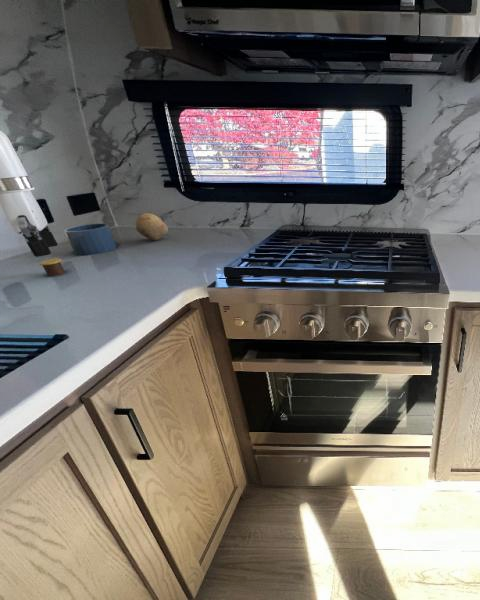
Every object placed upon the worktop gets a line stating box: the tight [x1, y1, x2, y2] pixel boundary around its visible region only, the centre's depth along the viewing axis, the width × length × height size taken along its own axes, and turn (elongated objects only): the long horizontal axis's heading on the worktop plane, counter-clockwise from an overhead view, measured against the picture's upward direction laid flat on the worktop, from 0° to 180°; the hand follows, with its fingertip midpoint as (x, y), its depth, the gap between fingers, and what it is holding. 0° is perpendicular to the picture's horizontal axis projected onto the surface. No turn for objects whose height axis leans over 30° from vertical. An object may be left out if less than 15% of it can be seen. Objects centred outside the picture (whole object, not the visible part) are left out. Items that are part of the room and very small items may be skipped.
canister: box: [63, 222, 118, 257], centre depth 112 cm, size 11×11×8 cm
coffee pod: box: [38, 258, 66, 277], centre depth 92 cm, size 4×4×4 cm
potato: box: [135, 212, 169, 241], centre depth 122 cm, size 9×9×10 cm
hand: (47, 250), depth 90 cm, fingers open, 9 cm apart
